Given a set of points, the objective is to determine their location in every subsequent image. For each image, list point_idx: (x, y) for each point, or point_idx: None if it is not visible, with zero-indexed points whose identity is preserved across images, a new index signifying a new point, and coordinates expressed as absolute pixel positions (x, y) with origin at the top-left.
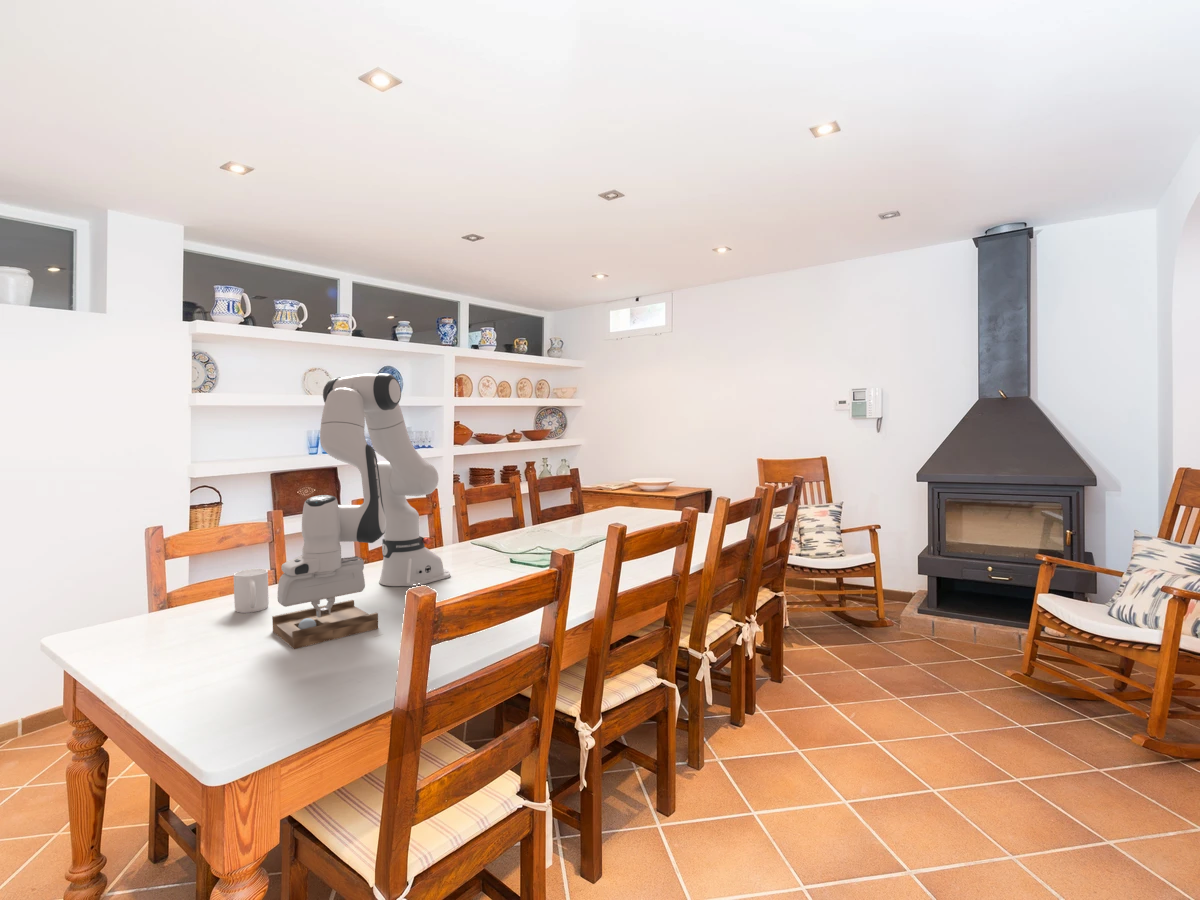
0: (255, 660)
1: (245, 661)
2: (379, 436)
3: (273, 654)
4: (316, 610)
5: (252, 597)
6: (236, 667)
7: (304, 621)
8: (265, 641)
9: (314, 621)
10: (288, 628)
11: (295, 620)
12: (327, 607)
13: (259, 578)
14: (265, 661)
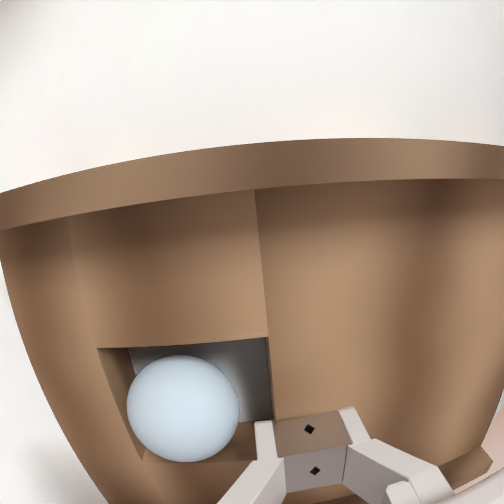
0: (29, 471)
1: (7, 457)
2: None
3: (65, 473)
4: (257, 458)
5: None
6: (2, 471)
7: (156, 453)
8: (8, 335)
9: (226, 442)
10: (74, 401)
11: (112, 266)
12: (349, 476)
13: None
14: (57, 493)
